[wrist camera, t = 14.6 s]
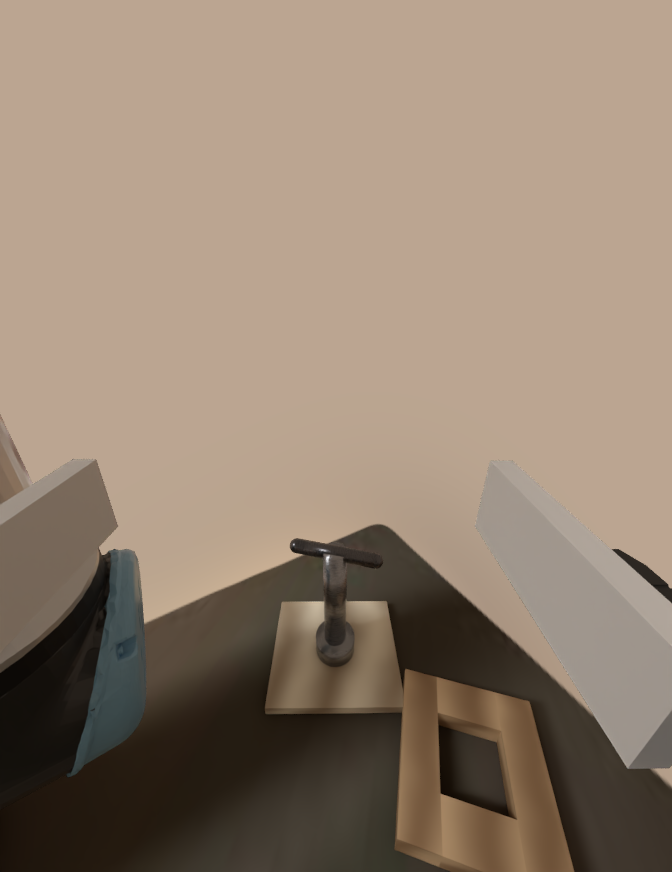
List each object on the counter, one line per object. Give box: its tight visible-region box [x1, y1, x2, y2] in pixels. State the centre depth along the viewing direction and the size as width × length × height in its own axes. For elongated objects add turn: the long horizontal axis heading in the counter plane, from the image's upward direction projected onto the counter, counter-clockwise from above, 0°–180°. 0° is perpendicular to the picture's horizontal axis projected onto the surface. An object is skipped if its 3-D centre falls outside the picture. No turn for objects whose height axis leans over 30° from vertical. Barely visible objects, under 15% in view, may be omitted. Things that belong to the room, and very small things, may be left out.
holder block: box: [395, 669, 574, 872], centre depth 28 cm, size 12×12×2 cm
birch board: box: [265, 601, 403, 714], centre depth 37 cm, size 14×12×1 cm
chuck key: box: [290, 538, 383, 667], centre depth 34 cm, size 9×4×15 cm, turn 75°
